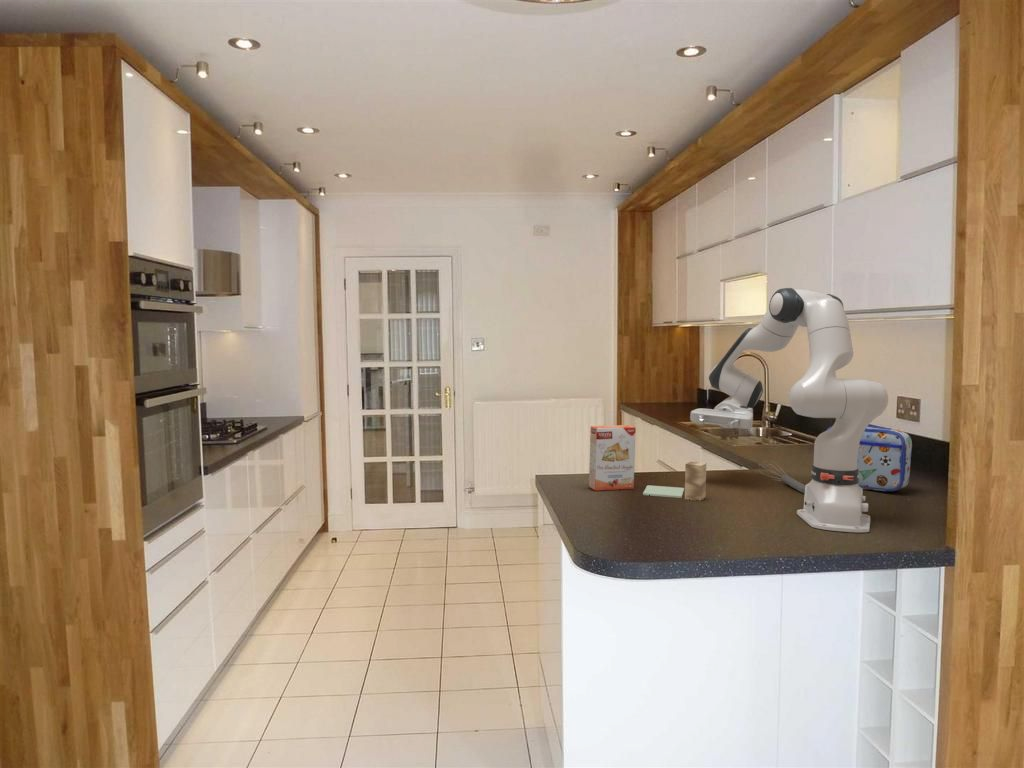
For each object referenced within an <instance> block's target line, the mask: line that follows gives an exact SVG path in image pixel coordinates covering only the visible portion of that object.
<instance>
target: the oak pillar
mask: <svg viewBox="0 0 1024 768" xmlns="http://www.w3.org/2000/svg"><path fill="white" fill-rule="evenodd" d="M684 466H685V472H684V475H685V476H684V500H689V499H690V500H691V501H696V500H699V501H698V502H702V501H703V500H704V498H705V499H706V497H707V496H706V495H707V494H706V493H707V492H706V489H707V463H706V462H698V461H689V462H686V463H685V465H684ZM690 500H689V501H690ZM701 500H702V501H701Z"/></svg>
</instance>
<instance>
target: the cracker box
mask: <svg viewBox="0 0 1024 768" xmlns="http://www.w3.org/2000/svg"><path fill="white" fill-rule="evenodd" d="M589 433H590V435H589V437H590V438H589V466H588V467H589V471H588V472H589V473H588V476H589V477H588V487H589V488H590V489H591V490H593V491H595V492H596V491H597V492H598V491H599V492H601V491H616V490H617V491H618V490H619V489H620V490H633V489H634V484H635V456H636V455H635V454H636V427H635V426H633V425H631V424H630V425H629V424H625V425H624V424H622V425H619V424H618V425H617V424H616V425H613V424H611V425H590V431H589Z"/></svg>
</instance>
